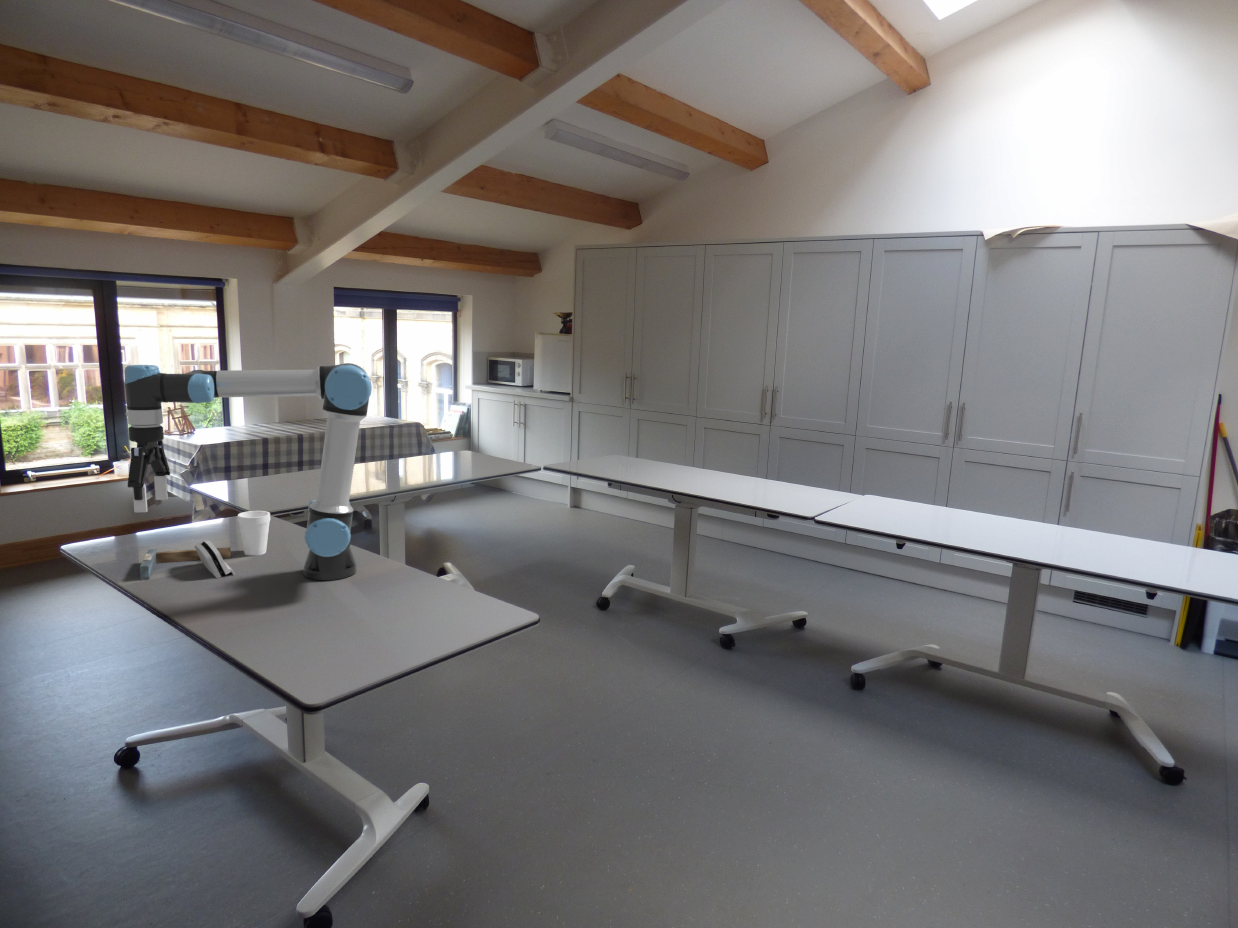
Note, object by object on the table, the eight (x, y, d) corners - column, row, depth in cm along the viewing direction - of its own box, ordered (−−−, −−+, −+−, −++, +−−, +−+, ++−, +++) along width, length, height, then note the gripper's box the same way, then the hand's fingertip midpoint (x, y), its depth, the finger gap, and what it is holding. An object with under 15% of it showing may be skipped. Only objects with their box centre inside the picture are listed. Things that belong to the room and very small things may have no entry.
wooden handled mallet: (230, 556, 230) (230, 543, 229) (228, 572, 215) (227, 559, 214) (149, 562, 220) (148, 548, 219) (140, 579, 205) (139, 565, 204)
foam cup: (277, 549, 238) (275, 512, 236) (260, 558, 229) (259, 518, 227) (250, 547, 239) (248, 509, 237) (232, 555, 230) (231, 516, 228)
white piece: (235, 575, 213) (221, 546, 209) (219, 583, 210) (205, 554, 206) (220, 560, 225) (207, 533, 221) (204, 567, 222) (190, 540, 218)
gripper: (149, 419, 195) (154, 495, 199) (106, 432, 171) (114, 517, 175) (179, 419, 197) (184, 494, 201) (142, 432, 173) (148, 517, 177)
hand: (151, 505), depth 188 cm, fingers open, 13 cm apart
